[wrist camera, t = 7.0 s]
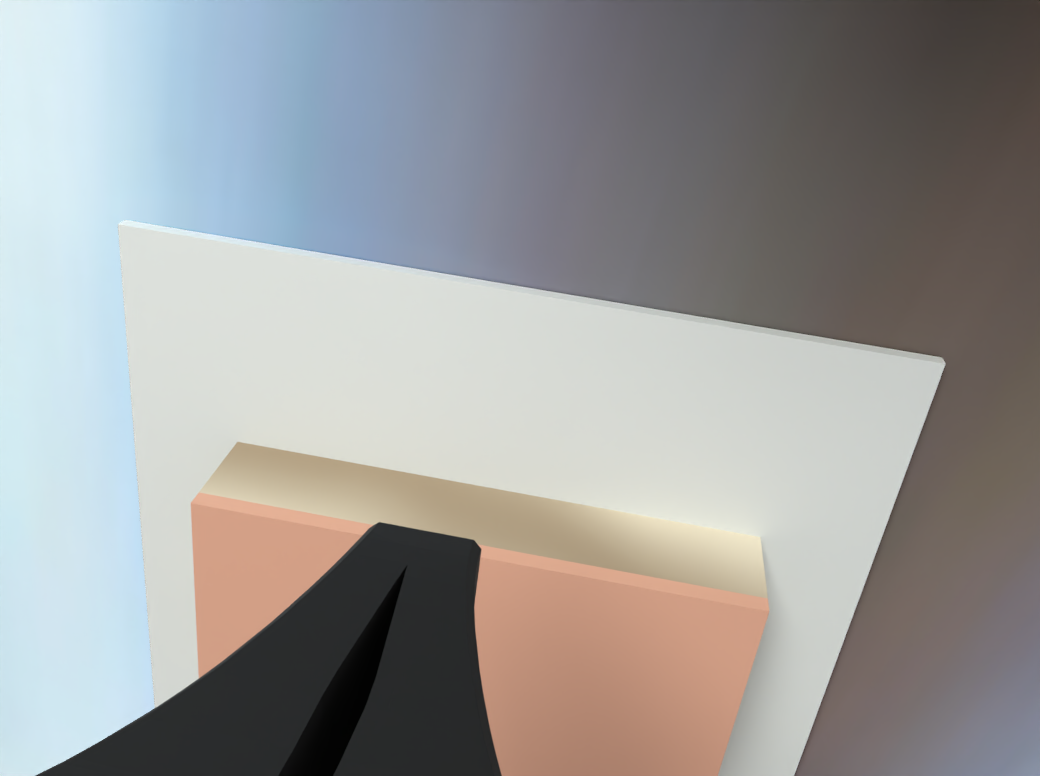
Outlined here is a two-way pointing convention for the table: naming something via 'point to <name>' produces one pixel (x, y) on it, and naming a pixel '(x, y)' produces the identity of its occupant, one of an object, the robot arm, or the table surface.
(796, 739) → the rubber mat
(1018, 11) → the table surface
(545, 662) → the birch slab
